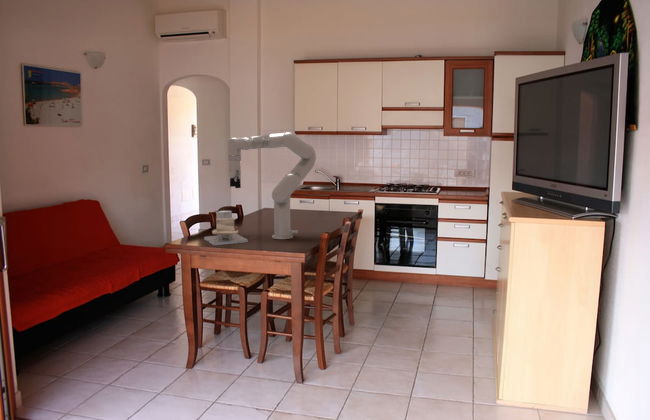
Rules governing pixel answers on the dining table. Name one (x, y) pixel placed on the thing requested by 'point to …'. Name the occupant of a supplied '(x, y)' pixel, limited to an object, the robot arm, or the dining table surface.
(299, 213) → the dining table surface
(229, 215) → the skincare box
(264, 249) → the dining table surface
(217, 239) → the eye plate
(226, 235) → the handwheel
